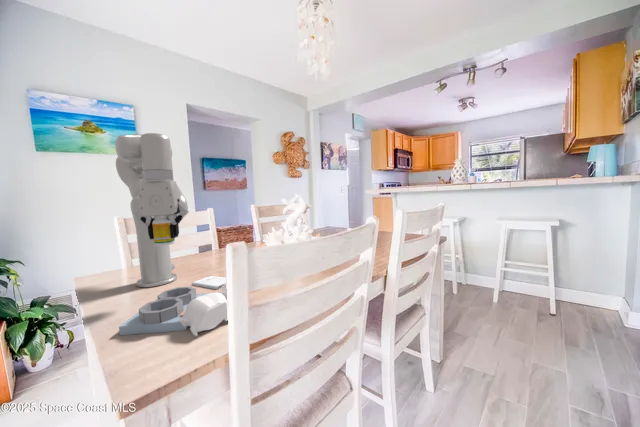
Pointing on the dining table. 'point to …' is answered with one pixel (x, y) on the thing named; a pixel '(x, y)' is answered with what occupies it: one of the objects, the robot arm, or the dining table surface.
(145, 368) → the dining table surface
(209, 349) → the dining table surface
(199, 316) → the white figurine
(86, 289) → the dining table surface
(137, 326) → the socket board
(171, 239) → the supplement bottle
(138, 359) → the dining table surface
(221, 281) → the external hard drive
